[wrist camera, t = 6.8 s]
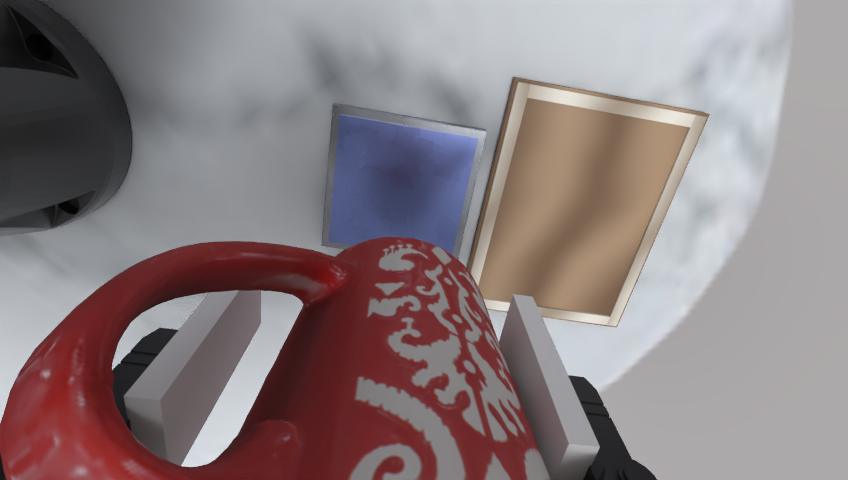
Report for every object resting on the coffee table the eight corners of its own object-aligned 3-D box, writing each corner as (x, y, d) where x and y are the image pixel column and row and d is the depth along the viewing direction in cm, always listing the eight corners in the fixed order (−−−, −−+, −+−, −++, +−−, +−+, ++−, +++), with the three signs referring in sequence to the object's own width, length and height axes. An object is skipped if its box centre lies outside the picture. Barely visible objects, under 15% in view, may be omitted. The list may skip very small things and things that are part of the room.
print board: (458, 301, 34) (459, 307, 34) (513, 77, 27) (515, 78, 27) (613, 322, 35) (617, 328, 35) (704, 112, 28) (711, 114, 28)
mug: (542, 339, 19) (771, 882, 7) (372, 421, 21) (309, 961, 9) (380, 80, 14) (167, 302, 2) (181, 215, 16) (-532, 742, 4)
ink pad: (323, 241, 32) (320, 246, 31) (334, 103, 28) (332, 105, 27) (455, 261, 33) (456, 266, 32) (485, 129, 29) (487, 132, 28)
